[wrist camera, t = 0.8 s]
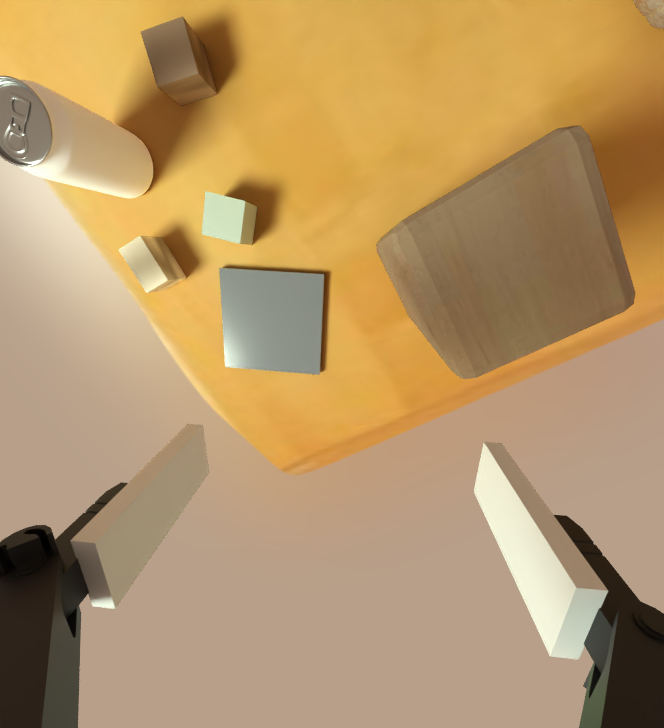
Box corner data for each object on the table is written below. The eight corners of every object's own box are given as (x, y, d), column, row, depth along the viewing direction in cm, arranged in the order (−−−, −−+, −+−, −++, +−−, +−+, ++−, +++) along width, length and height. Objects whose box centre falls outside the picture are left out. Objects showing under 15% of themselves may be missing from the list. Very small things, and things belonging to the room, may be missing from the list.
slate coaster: (222, 267, 37) (219, 267, 37) (324, 273, 37) (323, 274, 36) (227, 364, 41) (225, 367, 40) (320, 372, 40) (319, 374, 40)
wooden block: (411, 322, 38) (463, 390, 19) (372, 243, 35) (386, 229, 16) (495, 279, 35) (651, 308, 16) (459, 191, 33) (593, 106, 14)
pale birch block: (142, 250, 38) (118, 249, 34) (162, 237, 37) (140, 235, 33) (167, 289, 39) (146, 292, 35) (187, 277, 38) (168, 280, 34)
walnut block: (167, 58, 31) (140, 31, 28) (204, 45, 31) (182, 16, 27) (181, 106, 33) (157, 86, 29) (217, 94, 32) (198, 73, 28)
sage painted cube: (222, 198, 35) (205, 191, 31) (257, 206, 35) (245, 200, 31) (218, 236, 36) (201, 234, 33) (252, 245, 36) (239, 243, 33)
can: (93, 182, 36) (-32, 148, 24) (104, 119, 33) (-27, 49, 22) (147, 209, 36) (50, 189, 25) (162, 148, 34) (63, 94, 23)
